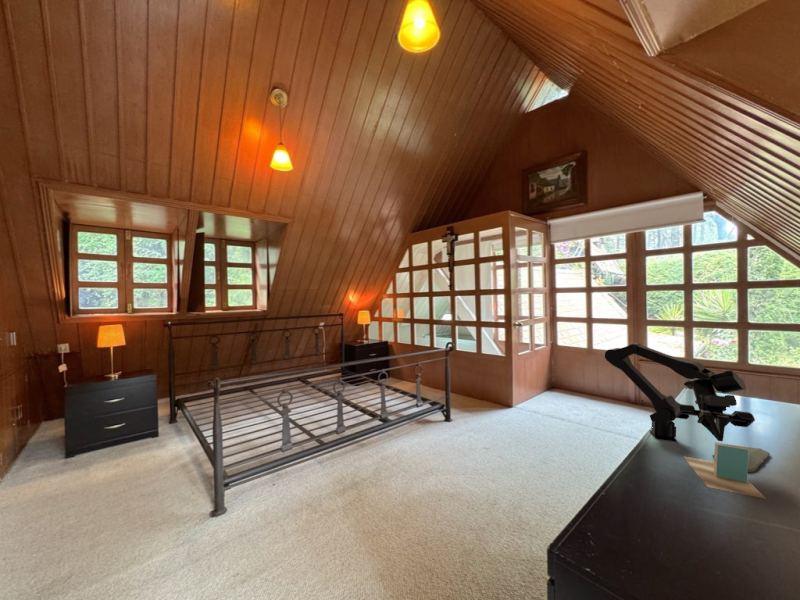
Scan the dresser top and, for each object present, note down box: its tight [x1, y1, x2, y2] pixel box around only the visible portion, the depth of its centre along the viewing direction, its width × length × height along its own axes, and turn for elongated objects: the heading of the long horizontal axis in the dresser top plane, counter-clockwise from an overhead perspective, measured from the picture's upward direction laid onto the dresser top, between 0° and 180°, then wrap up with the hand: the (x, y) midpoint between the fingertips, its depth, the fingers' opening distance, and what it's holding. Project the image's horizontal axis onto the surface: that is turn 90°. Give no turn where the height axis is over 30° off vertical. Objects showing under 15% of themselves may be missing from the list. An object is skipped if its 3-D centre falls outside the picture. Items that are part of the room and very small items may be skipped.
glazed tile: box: [713, 442, 749, 482], centre depth 95 cm, size 2×7×10 cm, turn 65°
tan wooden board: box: [683, 456, 767, 499], centre depth 97 cm, size 18×12×1 cm
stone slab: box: [711, 446, 771, 473], centre depth 108 cm, size 22×3×10 cm
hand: (720, 440), depth 102 cm, fingers closed
